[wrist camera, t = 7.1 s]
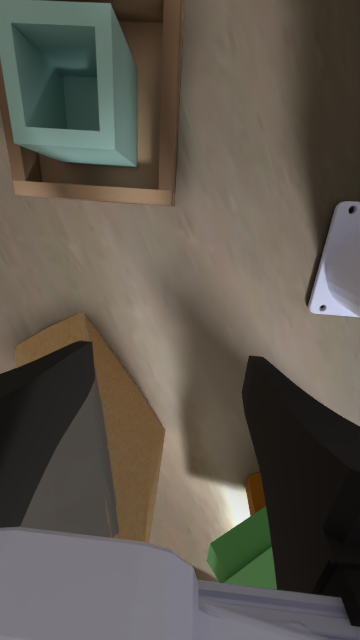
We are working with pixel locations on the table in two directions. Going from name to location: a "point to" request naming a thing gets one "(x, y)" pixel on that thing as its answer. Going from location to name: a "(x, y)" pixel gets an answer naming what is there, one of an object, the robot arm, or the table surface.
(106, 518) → the sandwich container
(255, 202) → the table surface
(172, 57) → the walnut crate
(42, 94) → the box
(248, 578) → the decorative tree
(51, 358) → the robot arm
